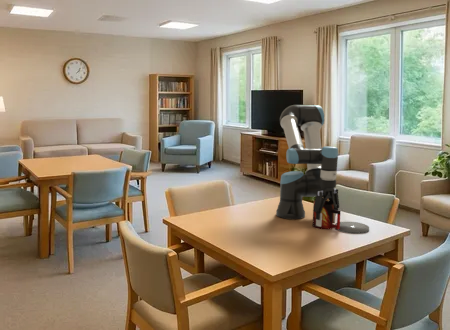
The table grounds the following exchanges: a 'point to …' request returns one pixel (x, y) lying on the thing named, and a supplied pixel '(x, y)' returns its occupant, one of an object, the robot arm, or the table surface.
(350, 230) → the plate
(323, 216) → the mug
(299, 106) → the robot arm
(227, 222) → the table surface
